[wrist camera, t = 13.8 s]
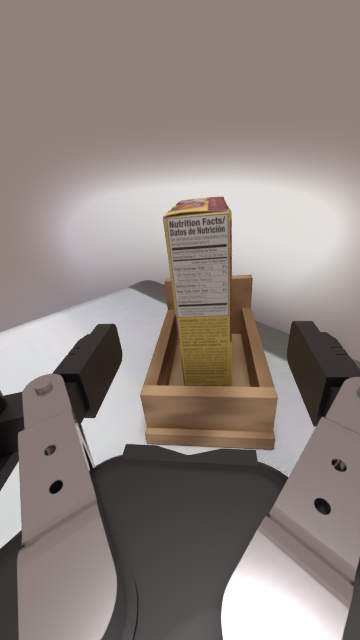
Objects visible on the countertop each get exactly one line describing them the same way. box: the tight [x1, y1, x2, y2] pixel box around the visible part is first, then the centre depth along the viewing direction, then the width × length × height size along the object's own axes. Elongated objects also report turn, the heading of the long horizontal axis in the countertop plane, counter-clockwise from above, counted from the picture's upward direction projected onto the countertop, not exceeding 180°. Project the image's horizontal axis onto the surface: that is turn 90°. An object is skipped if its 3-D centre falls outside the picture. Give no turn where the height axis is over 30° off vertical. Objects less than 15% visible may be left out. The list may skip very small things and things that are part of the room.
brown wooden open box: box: [140, 275, 278, 449], centre depth 24 cm, size 10×16×8 cm, turn 174°
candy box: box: [163, 197, 232, 387], centre depth 22 cm, size 9×4×15 cm, turn 174°
